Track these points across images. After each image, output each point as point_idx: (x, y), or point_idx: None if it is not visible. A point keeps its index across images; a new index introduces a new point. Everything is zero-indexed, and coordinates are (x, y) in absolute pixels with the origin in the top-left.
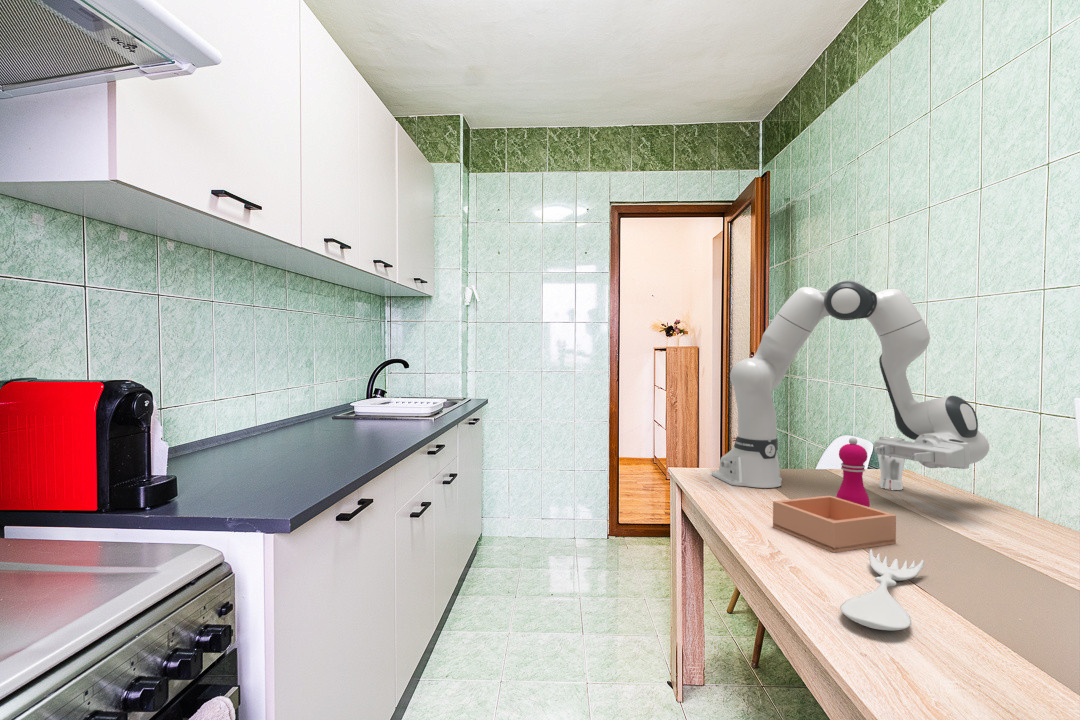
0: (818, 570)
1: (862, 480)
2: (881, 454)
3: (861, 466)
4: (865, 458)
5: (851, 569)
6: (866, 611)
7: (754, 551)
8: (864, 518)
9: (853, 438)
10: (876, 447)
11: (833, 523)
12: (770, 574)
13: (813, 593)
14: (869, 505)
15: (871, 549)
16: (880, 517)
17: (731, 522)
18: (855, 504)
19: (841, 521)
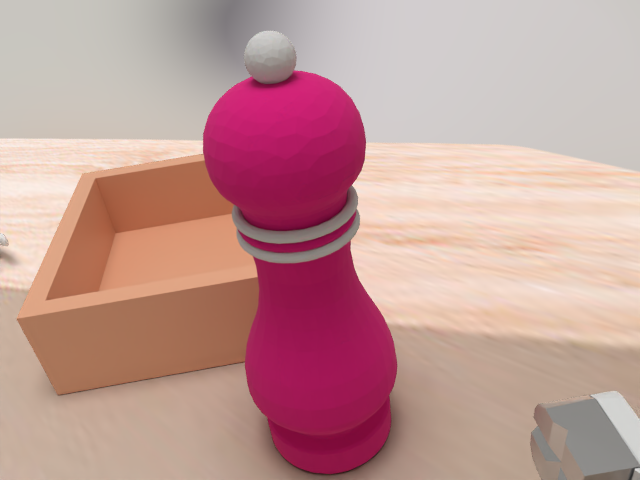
0: (62, 191)
1: (264, 293)
2: (539, 474)
3: (233, 209)
4: (209, 175)
5: (28, 228)
6: None
7: (186, 151)
8: (61, 232)
9: (256, 35)
10: (602, 394)
11: (84, 174)
12: (95, 146)
13: (13, 164)
14: (258, 406)
15: (2, 237)
16: (38, 270)
17: (365, 157)
18: (187, 278)
19: (80, 186)
